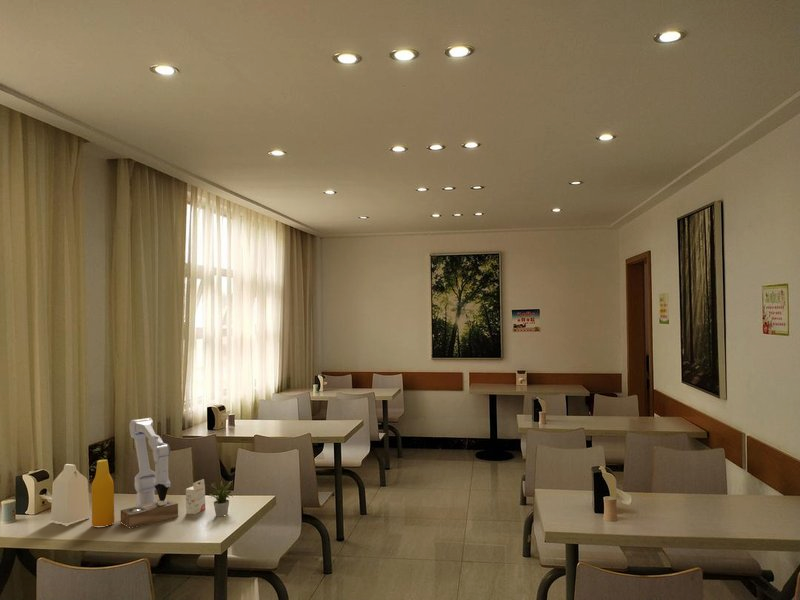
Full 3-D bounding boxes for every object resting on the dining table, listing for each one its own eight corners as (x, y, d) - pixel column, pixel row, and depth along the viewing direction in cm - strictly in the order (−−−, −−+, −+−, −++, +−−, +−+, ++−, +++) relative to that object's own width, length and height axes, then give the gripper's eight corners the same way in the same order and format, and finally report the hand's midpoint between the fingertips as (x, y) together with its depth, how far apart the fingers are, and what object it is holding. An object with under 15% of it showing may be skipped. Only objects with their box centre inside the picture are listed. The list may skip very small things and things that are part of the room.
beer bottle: (117, 524, 272) (116, 460, 273) (95, 529, 266) (94, 463, 267) (110, 520, 279) (109, 457, 280) (89, 525, 273) (88, 460, 274)
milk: (50, 523, 278) (50, 466, 279) (74, 515, 288) (73, 461, 289) (66, 526, 272) (66, 468, 273) (90, 518, 282) (89, 463, 284)
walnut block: (120, 523, 274) (120, 510, 274) (168, 511, 289) (167, 499, 289) (130, 528, 266) (129, 514, 266) (178, 516, 281) (177, 503, 282)
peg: (156, 512, 282) (156, 500, 282) (164, 510, 285) (164, 498, 285) (160, 513, 279) (159, 501, 279) (168, 511, 282) (168, 499, 282)
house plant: (202, 522, 272) (201, 485, 272) (203, 513, 285) (202, 478, 286) (235, 518, 276) (234, 482, 276) (234, 509, 289) (233, 475, 290)
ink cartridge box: (197, 508, 293) (196, 478, 294) (205, 509, 291) (205, 478, 292) (185, 513, 285) (185, 482, 285) (194, 514, 283) (193, 483, 284)
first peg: (130, 522, 273) (130, 510, 273) (139, 520, 276) (139, 508, 276) (133, 524, 270) (133, 512, 271) (142, 522, 273) (142, 509, 273)
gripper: (146, 470, 285) (147, 499, 284) (159, 474, 275) (160, 505, 274) (161, 467, 290) (162, 495, 289) (174, 471, 280) (175, 501, 279)
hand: (162, 500), depth 282 cm, fingers closed, pressing on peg
